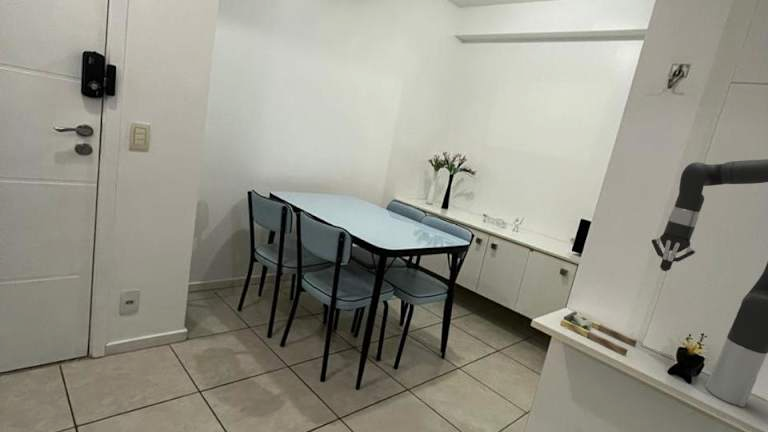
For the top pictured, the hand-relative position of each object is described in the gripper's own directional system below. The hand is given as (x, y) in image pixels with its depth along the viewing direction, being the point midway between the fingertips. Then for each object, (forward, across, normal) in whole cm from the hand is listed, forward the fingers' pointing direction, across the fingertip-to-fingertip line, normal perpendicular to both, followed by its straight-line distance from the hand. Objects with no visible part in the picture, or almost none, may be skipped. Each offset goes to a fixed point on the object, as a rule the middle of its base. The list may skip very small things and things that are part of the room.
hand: (664, 270), depth 137 cm
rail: (+29, +11, +8) cm, 32 cm away
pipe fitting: (+30, +16, +8) cm, 34 cm away
